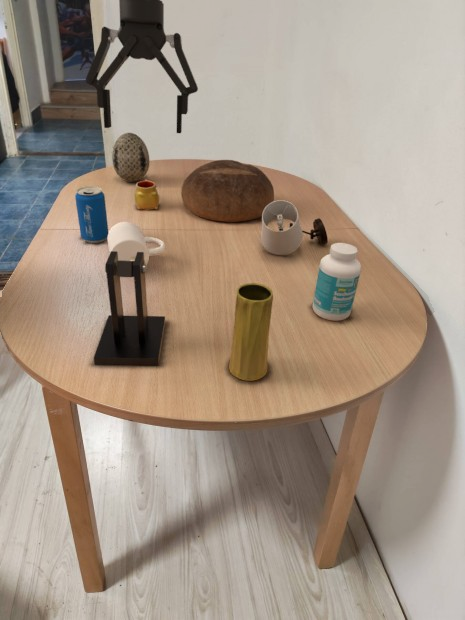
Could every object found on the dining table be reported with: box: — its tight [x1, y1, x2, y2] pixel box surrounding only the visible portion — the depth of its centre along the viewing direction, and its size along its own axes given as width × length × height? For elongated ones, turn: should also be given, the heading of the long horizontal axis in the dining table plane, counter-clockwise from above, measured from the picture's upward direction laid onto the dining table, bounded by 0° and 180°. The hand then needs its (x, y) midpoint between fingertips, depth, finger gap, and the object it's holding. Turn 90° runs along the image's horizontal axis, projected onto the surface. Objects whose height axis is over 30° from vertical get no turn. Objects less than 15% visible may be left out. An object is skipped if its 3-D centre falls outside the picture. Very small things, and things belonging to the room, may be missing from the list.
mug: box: [106, 221, 166, 265], centre depth 98 cm, size 12×10×8 cm
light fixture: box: [260, 199, 329, 256], centre depth 108 cm, size 10×16×17 cm
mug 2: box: [134, 179, 160, 211], centre depth 130 cm, size 12×7×7 cm, turn 5°
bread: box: [180, 159, 275, 223], centre depth 129 cm, size 26×27×13 cm
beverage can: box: [74, 186, 109, 244], centre depth 107 cm, size 6×6×12 cm
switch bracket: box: [93, 251, 166, 366], centre depth 72 cm, size 12×10×16 cm
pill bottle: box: [311, 242, 362, 322], centre depth 84 cm, size 8×7×14 cm
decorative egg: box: [111, 132, 150, 183], centre depth 145 cm, size 12×12×15 cm
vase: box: [228, 282, 274, 382], centre depth 68 cm, size 6×6×14 cm
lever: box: [117, 256, 148, 278], centre depth 74 cm, size 13×4×4 cm, turn 2°
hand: (143, 130), depth 87 cm, fingers open, 13 cm apart
